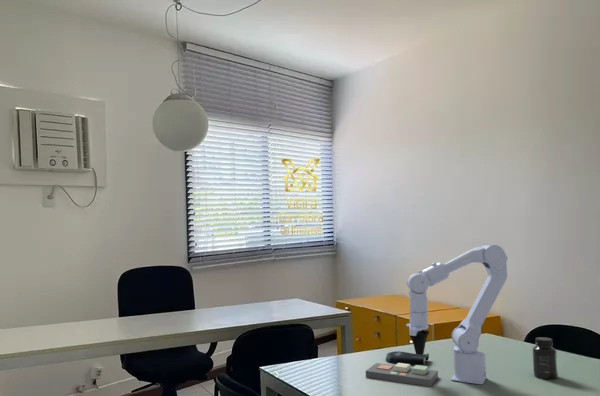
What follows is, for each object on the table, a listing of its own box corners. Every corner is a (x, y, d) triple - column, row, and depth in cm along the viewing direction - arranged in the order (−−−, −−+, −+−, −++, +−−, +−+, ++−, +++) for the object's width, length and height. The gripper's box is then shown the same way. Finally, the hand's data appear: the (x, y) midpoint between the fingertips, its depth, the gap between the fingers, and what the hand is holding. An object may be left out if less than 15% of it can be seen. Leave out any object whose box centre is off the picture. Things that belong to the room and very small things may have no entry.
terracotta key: (392, 370, 160) (392, 365, 160) (388, 374, 156) (388, 369, 156) (381, 369, 162) (381, 364, 162) (377, 372, 158) (377, 367, 158)
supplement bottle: (562, 378, 150) (560, 339, 151) (546, 381, 148) (544, 342, 149) (545, 372, 157) (543, 335, 157) (529, 375, 154) (527, 337, 155)
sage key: (428, 371, 154) (428, 366, 154) (425, 375, 150) (424, 369, 150) (416, 369, 156) (416, 364, 156) (412, 373, 152) (412, 368, 152)
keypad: (438, 377, 154) (437, 370, 154) (430, 386, 146) (429, 379, 146) (376, 368, 165) (376, 362, 165) (365, 377, 156) (365, 370, 156)
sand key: (410, 369, 157) (410, 364, 157) (406, 372, 153) (406, 367, 153) (398, 367, 159) (398, 362, 159) (394, 370, 155) (394, 365, 155)
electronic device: (429, 364, 174) (389, 355, 181) (430, 350, 174) (390, 341, 180) (424, 375, 166) (382, 365, 172) (425, 360, 165) (383, 350, 171)
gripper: (412, 307, 163) (413, 347, 162) (399, 314, 150) (400, 358, 149) (433, 308, 159) (434, 349, 158) (421, 315, 146) (423, 360, 146)
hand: (419, 354), depth 153 cm, fingers closed
